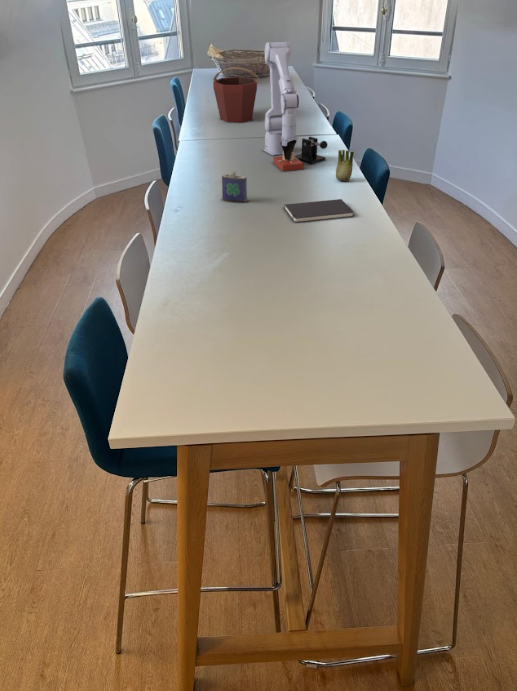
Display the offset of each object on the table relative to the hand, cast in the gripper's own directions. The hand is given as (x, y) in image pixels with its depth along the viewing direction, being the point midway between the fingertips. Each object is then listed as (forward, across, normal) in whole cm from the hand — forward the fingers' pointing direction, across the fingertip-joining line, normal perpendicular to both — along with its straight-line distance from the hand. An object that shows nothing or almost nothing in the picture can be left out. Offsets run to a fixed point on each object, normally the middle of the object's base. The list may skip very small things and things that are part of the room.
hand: (288, 158), depth 239 cm
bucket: (+3, +68, +46) cm, 82 cm away
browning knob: (0, 0, 0) cm, 0 cm away
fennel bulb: (+3, -11, -25) cm, 28 cm away
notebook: (+3, -46, -23) cm, 52 cm away
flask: (+3, -44, +9) cm, 45 cm away
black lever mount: (+3, +11, -6) cm, 13 cm away
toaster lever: (-3, +9, -10) cm, 14 cm away
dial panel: (+3, 0, 0) cm, 3 cm away
